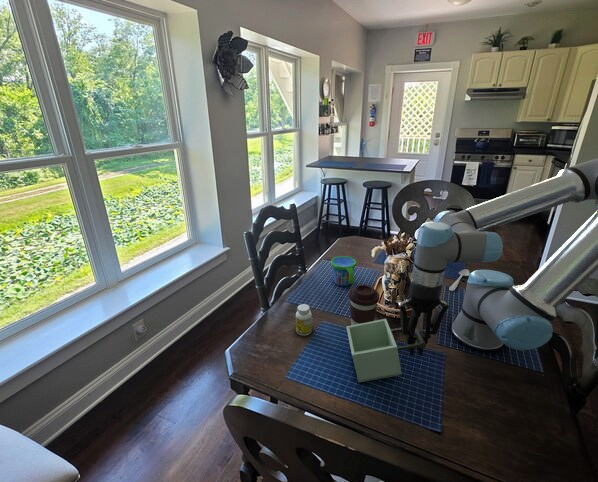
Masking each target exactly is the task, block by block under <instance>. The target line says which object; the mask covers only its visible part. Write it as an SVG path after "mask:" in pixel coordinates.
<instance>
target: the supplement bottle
mask: <svg viewBox="0 0 598 482" xmlns="http://www.w3.org/2000/svg"><path fill="white" fill-rule="evenodd" d="M296 309H297V311H296V313H295V331H296V333H297V335H300V336H303V337H305V336H309V335H310V334H311V333H312V332H313V315H312V312H311V310H310V309H311V308H310V305H309V304H307V303H302V304H299V305H298V306H297V307H296Z"/></svg>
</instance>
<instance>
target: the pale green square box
mask: <svg viewBox="0 0 598 482" xmlns="http://www.w3.org/2000/svg"><path fill="white" fill-rule="evenodd" d="M345 328H346V332H347V337H348V341H349V347H350V352H351V357H352V361H353V365H354V369H355V373H356V378H357V382H358V383H364V382H368V381H374V380H375V381H376V380H380V379H387V378H393V377H397V376H402V373H403V372H402V368H401V367H402V366H401V361H400V355H399V352H400V351H406V350H408V349H412V348H415V349H417V347H420V348H422V349H423V348H424V349H426V348H427V345H426V343H425V342H424V340H423V338H422V336H421V334H420V332H419V331H420V330H419V328H418V325H417V326H416V330H415V333H414V334H415V336H416V343H415V344H410V345H408V344H406V345H399V346H397V343H396V340H395V338H394V335H393V334H396V333H401V332H402V330H401V327H398V328H390V325H389V322H388V320H387V318H383V319H377V320H374V321H372V322H366V323H361V324H356V325H351V324H350V325H346V327H345ZM402 333H403V332H402ZM424 349H423V350H424Z"/></svg>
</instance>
